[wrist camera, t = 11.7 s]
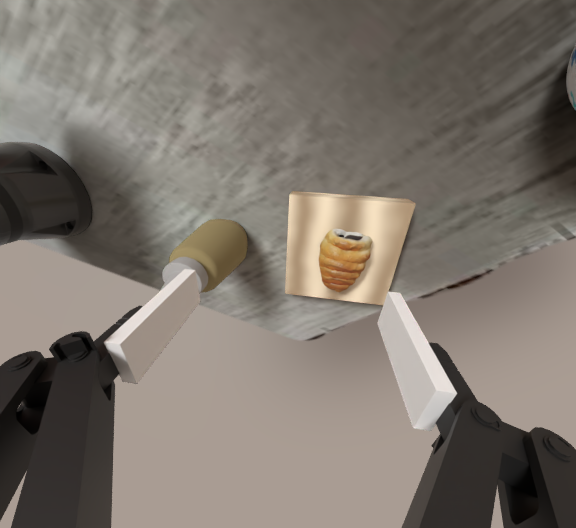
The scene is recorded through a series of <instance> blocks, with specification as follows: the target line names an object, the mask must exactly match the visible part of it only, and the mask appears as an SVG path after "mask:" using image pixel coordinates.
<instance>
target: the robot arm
mask: <svg viewBox="0 0 576 528" xmlns="http://www.w3.org/2000/svg"><path fill="white" fill-rule="evenodd" d="M91 216H92V210H91V203H90V200H89V197H88V194H87V192H86V189H85V187H84V186H83V184H82V182H81V181H80V179H79V178H78V176H77V175H76V173H75V172H74V171H73V170H72V169H71V168H70V166H69V165H68V164H67V163H66V162H65V161H63V160H62V159H61V158H60V157H59V156H57V155H56V154H55V153H53V152H52V151H50V150H48V149H46V148H44V147H42V146H40V145H37V144H33V143H24V142H6V143H0V245H4V244H7V243H10V242H14V241H17V240H31V239H55V238H66V237H69V236H72V235H75V234H78V233H81V232H83V231H84V230H85V229H86V228H87V227H88V226H89V224H90V221H91ZM200 302H201V301H200V295H199V289H198V283H197V277H196V271H195V270H191V269H184V270H183V271H182V272H181V273H180V274H179V275H177V276H176V277H175V278H174V279H173V280H172V281H171V282H170V283H169V284H167V285H166V286H165V287H164V288H163V289H162V290H161V291H160V292H159V293H158V294H156V295H155V296H154V297H153V298H152V299H151V300H150V301H149V302H148V303H147V304H146V305H144V306H138V307H136V308H134V309H132V310H130V311H129V312H128V313H127V314H125V315H124V316H123V317H122V319H120V320H118V322H116V324H114V325H113V326H111V327H110V328H109V329H108V330H107V331H106V332H104V333H103V334H102V335H101V336H100V337H99V338H98V339H96V340H95V341H94V342H93V340H92V338H91V336H90V334H89V333H87V332H74V333H71V334H68V335H66V336H64V337H62V338H60V339H58V340H57V341H56V342H54V343H53V344H52V346H51V347H50V349H49V350H50V352H51V353H52V355H53V356H54V357H53V358H44V357H43V355H42V354H41V353H40V352H38V351H31V352H26V353H23V354H20V355H17V356H15V357H13V358H11V359H9V360H8V361H6V362H5V363H4V364H2V365H1V366H0V520H1V518H2V516H3V515H4V512H5V511H6V509H7V507H8V504H9V503H10V501H11V499H12V497H13V495H14V494H15V492H16V490H17V488H18V486H19V484H20V482H21V480H22V478H23V476H24V474H25V473H26V471H27V473H26V476H25V480H24V484H23V487H22V490H21V494H20V498H19V501H18V505H17V508H16V512H15V515H14V519H13V522H12V526H11V528H111V511H112V475H113V473H112V472H113V439H114V437H113V436H114V403H115V384H114V381H113V380H114V379H115V378H116V377H117V376H118V375H120V377H121V379H122V381H123V382H128V383H134V384H137V383H138V382H139V381H140V380H141V378H142V377H143V375H144V374H145V373H146V372H147V370H148V369H149V368H150V367H151V365H152V364H153V363H154V361H155V360H156V359H157V357H158V356H159V354H160V353H161V352H162V351H163V349H164V348H165V347H166V346H167V344H168V343H169V342H170V341H171V339H172V338H173V336H174V335H175V334H176V333H177V331H178V330H179V329H180V328H181V326H182V325H183V324H184V322H185V321H186V320H187V318H188V317H189V316H190V314H191V313H192V312H193V310H194V309H195V308H196V307H197V305H198V304H199V303H200ZM378 326H379V329H380V332H381V335H382V338H383V341H384V344H385V347H386V349H387V353H388V355H389V359H390V362H391V365H392V367H393V371H394V374H395V377H396V379H397V382H398V385H399V388H400V391H401V394H402V397H403V400H404V403H405V406H406V409H407V412H408V415H409V418H410V421H411V424H412V426H413V428H416V429H422V430H429V431H431V430H432V429H433V427H434V426H435V424H437V427H438V429H439V431H440V435H439V437H438V438H437V439H436V440H435V442H434V443H433V444H432V447H433V451H432V453H431V456H430V458H429V461H428V463H427V466H426V468H425V471H424V473H423V476H422V478H421V481H420V483H419V486H418V488H417V491H416V493H415V496H414V498H413V501H412V503H411V506H410V508H409V511H408V513H407V516H406V518H405V521H404V523H403V526H402V528H491V521H492V515H493V508H494V502H495V496H496V489H497V485H498V492H499V499H500V506H501V512H502V519H503V526H504V528H576V450H575V449H574V447H573V446H572V445H571V444H569V443H568V442H567V441H566V440H564V439H563V438H562V437H560V436H559V435H557V434H555V433H554V432H552V431H550V430H547V429H544V428H536V427H535V428H534V429H532V430H531V431H530V432H529V433H528V432H526V431H523V430H521V429H518V428H516V427H514V426H511V425H509V424H507V423H504V422H502V421H501V419H500V418H499V417H498V416H497V415H496V414H495V412H494V411H492V410H491V409H490V408H488V407H487V406H486V405H484V404H482V403H480V402H478V401H477V399H476V398H475V396H474V395H473V393H472V391H471V390H470V388H469V387H468V385H467V383H466V382H465V380H464V379H463V377H462V376H461V374H460V372H459V371H457V368H456V366H455V364H454V363H453V362H452V360H451V358H450V357H449V355H448V353H447V352H446V351H445V350H444V349H443V348H442V347H441V346H440V345H439V344H437V343H429V342H428V341H427V340H426V338H425V336H424V334H423V332H422V331H421V329H420V327H419V325H418V324H417V322H416V320H415V318H414V317H413V315H412V313H411V311H410V310H409V308H408V306H407V304H406V303H405V301H404V299H403V297H402V295H401V294H400V293H396V292H388V293H387V296H386V299H385V302H384V305H383V308H382V311H381V314H380V317H379V320H378ZM20 404H21V405H20ZM19 405H20V406H19ZM18 407H19V408H18Z"/></svg>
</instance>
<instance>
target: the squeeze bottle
mask: <svg viewBox="0 0 576 528" xmlns="http://www.w3.org/2000/svg"><path fill="white" fill-rule="evenodd" d="M246 253H247V235H246V232H245V230H244V229H243V227H242V226H241V225H239V224H238V223H237V222H234V221H231V220H225V219H215V220H209V221H207V222H206V223H204V224H202V225H201V226H200V227H199V228H198V229H197V230H195V231H194V232H193V233H192V234H191V235H190V236H189V237H188V238H186V239H185V240H184V241H183V242H182V243H181V244H180V245H179V246H178V247H176V248H175V249H174V250H173V252H172V254H171V255H170V257H169V264H168V265H166V266H165V268H164V270H163V280H164V283H165V284H164V285H163V287H162V288H161V290H162V289H163V288H164V287H165V286H166V285H167V284H169V283H170V282H171V281H172V280H173V279H174V278H175V277H176V276H177V275H179V274H180V273H181V272H182V271H183V270H184V269H191V270H195V271H196V277H197V283H198V289H199V294H200V293H201V292H208V291H210V290H212V289H214V288H215V287H216V286H217V285H218V284H220V283H221V282H222V281H223V280H224V279H225V278H226V277H227V276H228V275H229V274H230V273H231V272H232V271H233V270H234V269H235V268H236V267H238V266H239V265H240V264H241V262H242V261H243V260H244V259H245V257H246ZM161 290H160V291H161ZM160 291H159V292H160Z"/></svg>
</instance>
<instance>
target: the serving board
mask: <svg viewBox="0 0 576 528" xmlns="http://www.w3.org/2000/svg"><path fill="white" fill-rule="evenodd" d="M414 208H415V203H414V202H412V201H410V200H408V199H399V198H384V197H370V196H355V195H341V194H326V193H312V192H297V191H292V192H291V194H290V195H289V218H288V240H287V263H286V285H285V293H286V294H294V295H302V296H310V297H319V298H327V299H335V300H343V301H352V302H360V303H368V304H377V305H384V302H385V299H386V296H387V293H388V292H389V288H390V285H391V282H392V279H393V276H394V272H395V269H396V266H397V263H398V259H399V256H400V253H401V250H402V246H403V243H404V240H405V237H406V234H407V230H408V227H409V224H410V221H411V217H412V214H413V211H414ZM333 229H342V230H344V231H346V232H358V233H361V234H363V235H365V236H369V237H370V238H371V239H372V241H373V243H372V244H371V248H370V258H369V259H368V260H367V261H366V266H365V269H364V271H362V272H361V274H360V276H359V278H357V279H356V281H355V283H354V284H353V285H351V286H349V288H348V289H346V290H343V291H342V292H336V291H335V290H331V289H329V288H327V287H326V286H325V285H324V284H323V282H322V277H321V273H320V267H319V254H320V244H321V242H322V240H323V239H324V237H325V236H326V234H327V233H328V232H329V231H330V230H333Z"/></svg>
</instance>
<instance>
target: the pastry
mask: <svg viewBox="0 0 576 528" xmlns="http://www.w3.org/2000/svg"><path fill="white" fill-rule="evenodd" d="M372 243H373V241H372V239H371V238H370V237H369V236H365V235H363V234H361V233H358V232H346V231H344V230H342V229H333V230H330V231H329V232H328V233H327V234H326V236H325V237H324V239H323V240H322V242H321V244H320V254H319V267H320V273H321V277H322V282H323V284H324V285H325V286H326V287H327V288H329V289H331V290H335V291H336V292H342V291H343V290H346V289H348V288H349V286H351V285H353V284H354V283H355V281H356V279H357V278H359V276H360V274H361V272H362V271H364V269H365V266H366V261H367V260H368V259H369V258H370V248H371V244H372Z"/></svg>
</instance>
